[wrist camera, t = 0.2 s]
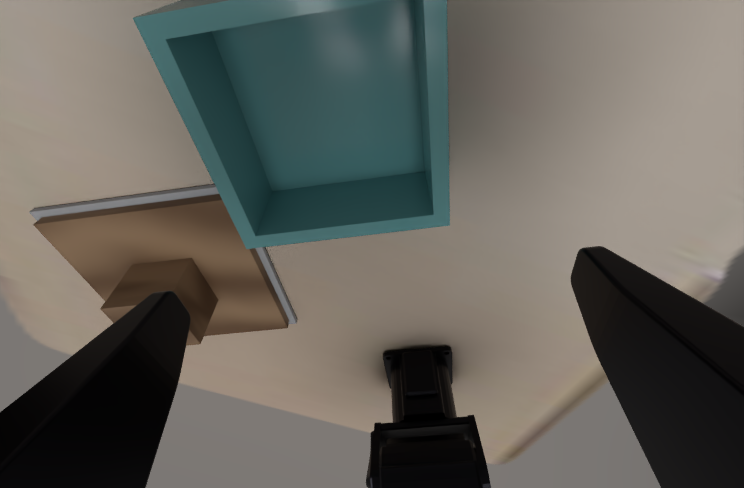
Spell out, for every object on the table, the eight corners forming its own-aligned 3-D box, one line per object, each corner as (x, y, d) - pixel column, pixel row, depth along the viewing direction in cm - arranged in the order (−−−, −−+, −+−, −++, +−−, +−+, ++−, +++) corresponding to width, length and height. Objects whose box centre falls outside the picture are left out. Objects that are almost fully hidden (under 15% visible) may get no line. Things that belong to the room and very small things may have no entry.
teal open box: (436, 176, 23) (449, 225, 19) (266, 198, 24) (246, 249, 20) (428, -47, 16) (446, -40, 12) (186, -2, 17) (132, 17, 13)
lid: (289, 320, 31) (278, 371, 28) (147, 334, 33) (119, 384, 29) (229, 192, 23) (202, 241, 19) (41, 217, 24) (-17, 268, 21)
